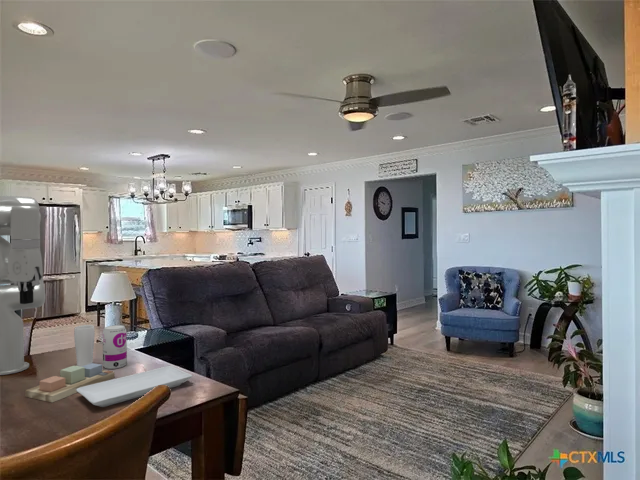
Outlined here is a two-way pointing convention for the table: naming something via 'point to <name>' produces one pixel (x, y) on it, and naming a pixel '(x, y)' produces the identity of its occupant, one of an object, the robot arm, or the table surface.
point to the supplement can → (114, 347)
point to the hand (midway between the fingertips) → (26, 303)
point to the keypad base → (68, 388)
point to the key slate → (92, 370)
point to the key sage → (73, 374)
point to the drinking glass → (84, 344)
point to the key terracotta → (52, 384)
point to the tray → (132, 385)
